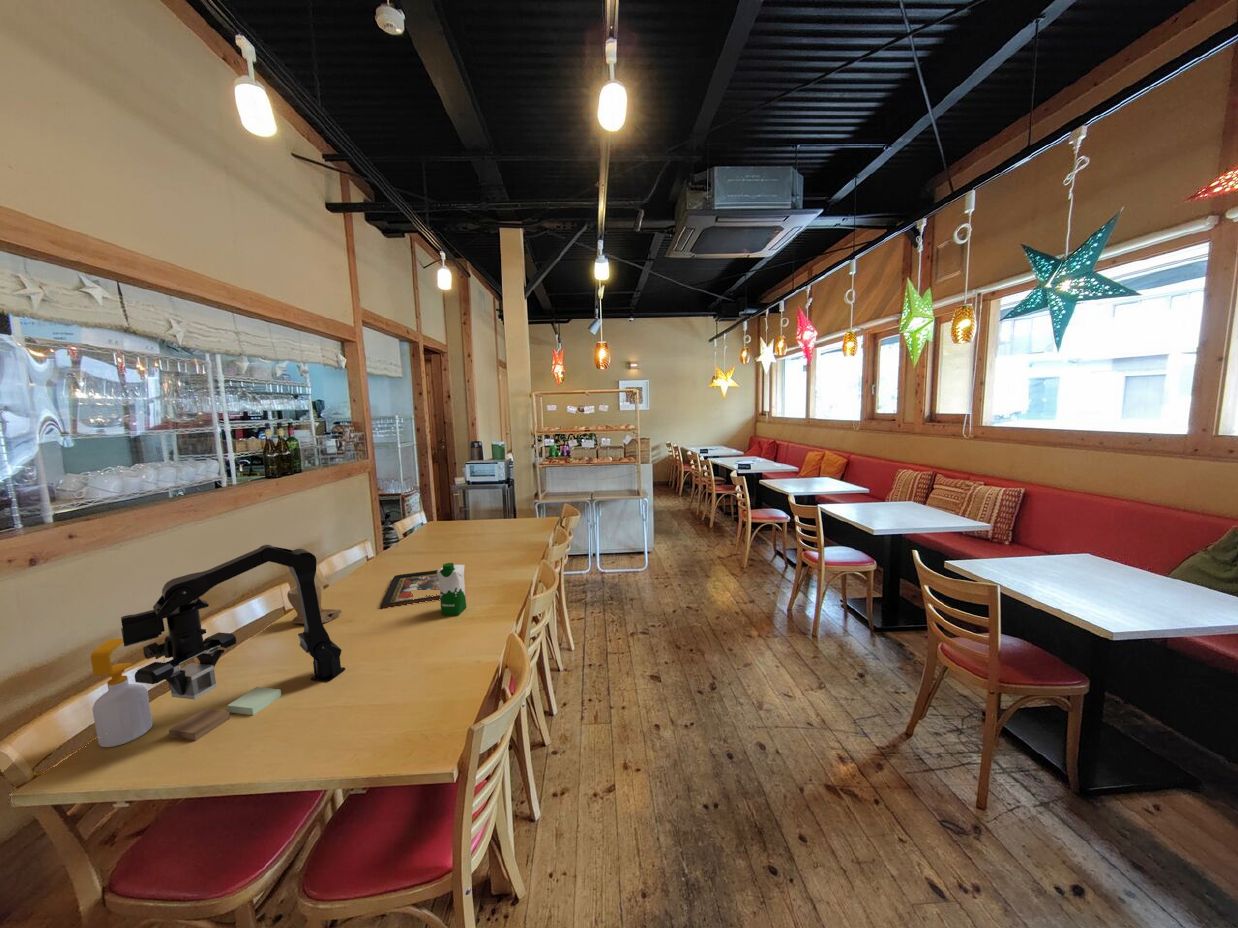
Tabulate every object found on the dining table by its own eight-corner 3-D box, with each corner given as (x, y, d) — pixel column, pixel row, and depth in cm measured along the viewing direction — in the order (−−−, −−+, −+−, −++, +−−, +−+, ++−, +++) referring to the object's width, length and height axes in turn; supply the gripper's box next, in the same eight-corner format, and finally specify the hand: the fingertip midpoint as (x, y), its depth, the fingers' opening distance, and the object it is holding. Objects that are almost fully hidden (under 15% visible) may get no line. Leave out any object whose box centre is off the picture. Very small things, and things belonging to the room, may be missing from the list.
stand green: (281, 695, 125) (280, 689, 125) (253, 715, 117) (252, 708, 117) (257, 693, 127) (256, 686, 126) (228, 712, 119) (227, 705, 119)
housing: (216, 687, 114) (213, 665, 113) (194, 699, 109) (191, 676, 108) (194, 684, 115) (191, 662, 114) (171, 696, 110) (168, 674, 109)
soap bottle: (163, 721, 116) (148, 632, 113) (125, 747, 107) (109, 651, 104) (127, 723, 116) (112, 633, 113) (87, 749, 107) (69, 652, 104)
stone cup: (282, 628, 166) (278, 589, 164) (308, 613, 178) (304, 577, 176) (319, 629, 164) (314, 590, 162) (343, 615, 176) (339, 578, 174)
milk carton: (438, 616, 172) (434, 566, 170) (449, 606, 181) (445, 558, 179) (459, 616, 171) (456, 566, 169) (469, 606, 180) (466, 558, 178)
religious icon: (384, 581, 211) (384, 575, 211) (462, 569, 226) (462, 563, 226) (380, 614, 177) (379, 607, 177) (472, 597, 192) (471, 591, 192)
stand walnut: (229, 718, 116) (228, 711, 116) (195, 740, 109) (194, 733, 108) (204, 715, 118) (203, 708, 118) (169, 737, 110) (168, 729, 110)
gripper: (200, 610, 121) (208, 664, 122) (111, 646, 102) (121, 709, 104) (234, 612, 119) (241, 667, 120) (149, 650, 100) (159, 714, 102)
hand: (194, 688), depth 112 cm, fingers closed on housing, 5 cm apart
